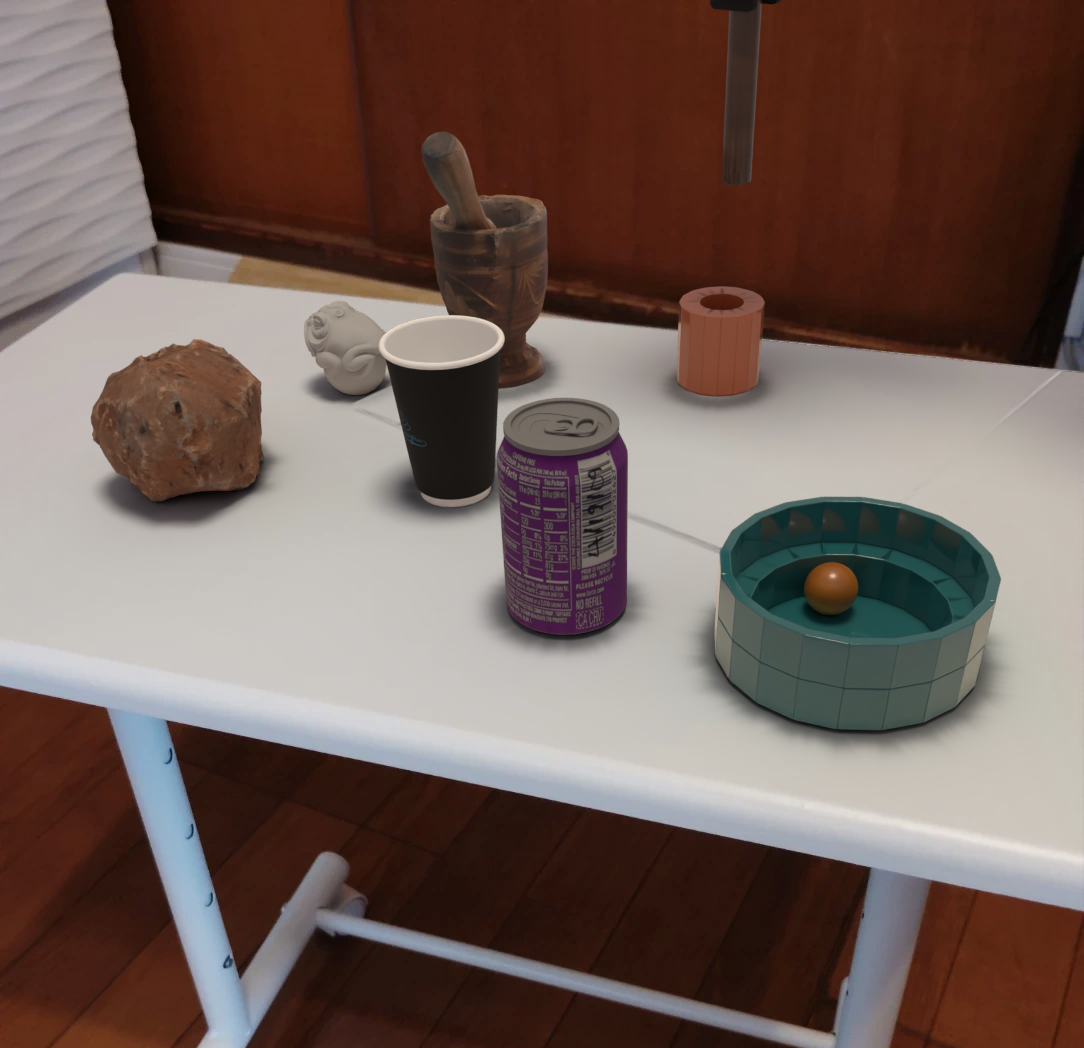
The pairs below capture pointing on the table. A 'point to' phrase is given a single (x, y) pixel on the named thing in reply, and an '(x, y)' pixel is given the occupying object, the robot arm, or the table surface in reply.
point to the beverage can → (564, 515)
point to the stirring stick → (740, 95)
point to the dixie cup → (447, 403)
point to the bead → (831, 588)
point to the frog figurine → (346, 347)
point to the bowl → (854, 612)
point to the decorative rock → (182, 421)
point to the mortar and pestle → (489, 256)
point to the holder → (719, 340)
